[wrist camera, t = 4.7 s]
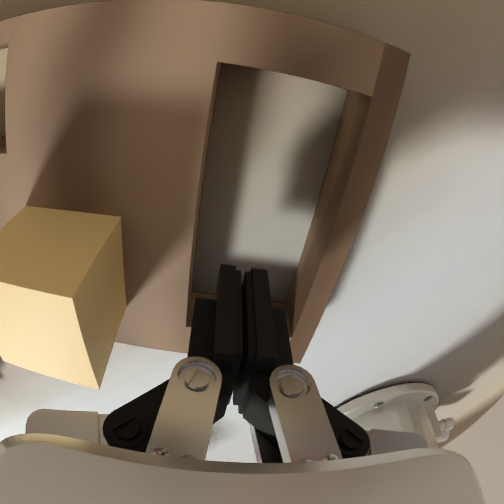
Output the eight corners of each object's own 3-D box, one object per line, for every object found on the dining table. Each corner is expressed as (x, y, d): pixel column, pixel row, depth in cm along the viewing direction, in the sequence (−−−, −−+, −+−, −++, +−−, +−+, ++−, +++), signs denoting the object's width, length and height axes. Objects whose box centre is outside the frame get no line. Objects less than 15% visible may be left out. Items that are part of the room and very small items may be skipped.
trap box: (380, 53, 10) (475, 59, 5) (294, 329, 18) (309, 420, 13) (-65, 54, 7) (-141, 78, 2) (-36, 272, 15) (-79, 330, 10)
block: (121, 216, 11) (72, 297, 7) (126, 306, 13) (99, 389, 10) (25, 205, 10) (-39, 271, 7) (43, 290, 13) (3, 360, 9)
